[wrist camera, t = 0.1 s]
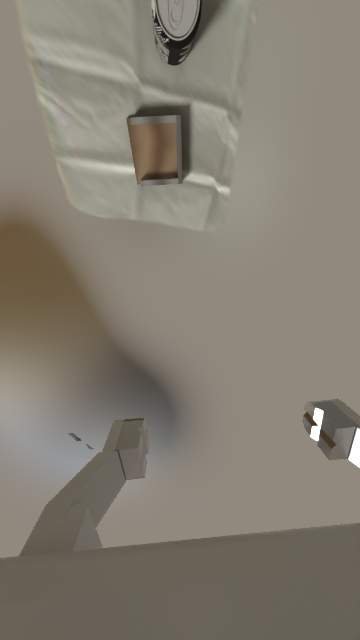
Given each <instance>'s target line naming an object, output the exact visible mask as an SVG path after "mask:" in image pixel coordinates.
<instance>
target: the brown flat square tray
mask: <svg viewBox="0 0 360 640" xmlns="http://www.w3.org/2000/svg"><path fill="white" fill-rule="evenodd" d="M126 119H127V125H128V131H129V137H130V143H131V149H132V155H133V161H134V167H135V173H136V178H137V184H141V186H149V185H165V184H181V183H183V182H182V139H181V115H169V116H150V117H132V118H126Z"/></svg>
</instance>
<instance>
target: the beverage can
mask: <svg viewBox="0 0 360 640" xmlns="http://www.w3.org/2000/svg"><path fill="white" fill-rule="evenodd" d="M201 6H202V0H152V15H153V28H154V38H155V43H156V47H157V50H158V52H159V54H160V56H161V57H162V59H163V60H164V61H165V62H166V63H168V64H170V65H178V64H180V63H182V62H183V61H184V60H185V58H186V57H187V55H188V53H189V51H190V48H191V45H192V43H193V40H194V37H195V34H196V31H197V29H198V25H199V21H200V16H201Z"/></svg>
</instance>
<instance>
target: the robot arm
mask: <svg viewBox="0 0 360 640" xmlns="http://www.w3.org/2000/svg"><path fill="white" fill-rule="evenodd" d="M305 410H306V411H307V412H306V413H305V414H304V416H303V423H304V427H305V429H306V431H307V432H308V433H309V435H310V436H311V437H312V438H314V439H315V440H317V442H318V447H319V448H320V449H321V450H322V451H323V453H324V454H325V455H326V457H327V458H328V459H329V460H336V459H348V460H349V461H351V462H352V463H354V464H355V465H356V466H358V467H359V468H360V416H359V415H358V414H357V413H356V412H354V411H353V410H352V409H351V408H350V407H348V406H347V405H346V404H345V403H344V402H342V401H341V400H339V399H333V400H325V401H315V402H307V403H306V404H305ZM146 425H147V423H146V419H145V418H137V419H125V420H115V421H114V423H113V425H112V427H111V430H110V432H109V435H108V438H107V440H106V443H105V446H104V448H103V451H102V452H99V453H98V454H97V455H96V456H95V457H94V458H93V459H92V460H91V461H90V462H89V463H88V464H87V465H86V466H85V467H84V468H83V469H82V470H81V471H80V472H79V473H78V474H77V475H76V476H75V477H74V478H73V479H72V480H71V481H70V482H69V483H68V484H67V485H66V486H65V487H64V488H63V489H62V490H61V491H60V492H59V493H58V494H57V495H56V496H55V497H54V498H53V499H52V500H51V501H50V502H49V503H48V504H47V505H46V506H45V508H44V510H43V511H42V513H41V515H40V517H39V519H38V521H37V523H36V525H35V527H34V529H33V530H32V532H31V534H30V536H29V538H28V540H27V542H26V544H25V545H24V547H23V549H22V551H21V553H20V555H19V556H17V557H7V558H0V640H360V523H352V524H342V525H332V526H322V527H311V528H301V529H291V530H281V531H270V532H262V533H261V532H260V533H251V534H241V535H230V536H220V537H211V538H200V539H190V540H180V541H169V542H160V543H149V544H139V545H129V546H119V547H109V548H102V544H101V541H100V539H99V536H98V533H97V531H96V527H97V525H98V523H99V522H100V521H101V519H102V517H103V516H104V514H105V513H106V511H107V510H108V508H109V507H110V505H111V503H112V502H113V501H114V499H115V497H116V496H117V494H118V493H119V491H120V490H121V488H122V487H123V485H124V483H125V482H126V481H125V480H132V479H138V478H145V470H146V463H147V461H146V454H147V453H148V449H149V434H148V430H147V429H146Z"/></svg>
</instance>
